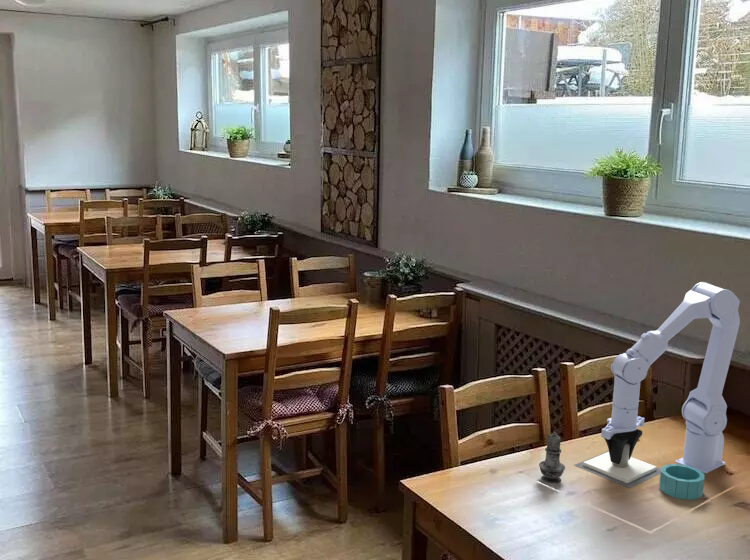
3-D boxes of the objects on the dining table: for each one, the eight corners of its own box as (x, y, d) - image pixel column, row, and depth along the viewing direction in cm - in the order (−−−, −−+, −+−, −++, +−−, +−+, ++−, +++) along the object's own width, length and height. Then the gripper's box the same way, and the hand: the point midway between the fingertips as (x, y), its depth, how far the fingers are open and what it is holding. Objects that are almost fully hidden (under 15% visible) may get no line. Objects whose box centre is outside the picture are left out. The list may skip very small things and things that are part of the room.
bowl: (672, 479, 184) (674, 460, 183) (709, 493, 177) (712, 474, 176) (651, 489, 178) (653, 470, 177) (688, 504, 171) (691, 485, 170)
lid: (612, 453, 196) (614, 430, 195) (656, 469, 187) (658, 446, 186) (583, 465, 189) (584, 442, 187) (627, 483, 180) (629, 459, 178)
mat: (610, 451, 198) (610, 450, 198) (665, 472, 187) (665, 470, 187) (573, 466, 189) (573, 465, 189) (629, 489, 178) (629, 487, 178)
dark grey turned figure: (564, 487, 178) (568, 437, 175) (537, 484, 179) (541, 434, 177) (563, 476, 183) (567, 427, 181) (537, 473, 185) (541, 424, 182)
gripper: (627, 394, 192) (623, 447, 195) (592, 407, 183) (587, 462, 186) (654, 402, 187) (648, 457, 190) (618, 416, 178) (613, 472, 181)
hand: (620, 460), depth 188 cm, fingers closed on lid, 4 cm apart
